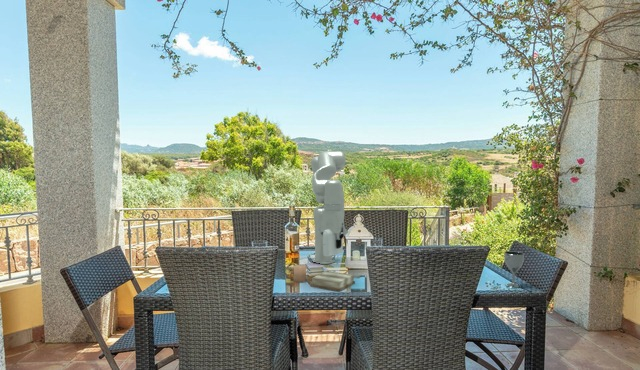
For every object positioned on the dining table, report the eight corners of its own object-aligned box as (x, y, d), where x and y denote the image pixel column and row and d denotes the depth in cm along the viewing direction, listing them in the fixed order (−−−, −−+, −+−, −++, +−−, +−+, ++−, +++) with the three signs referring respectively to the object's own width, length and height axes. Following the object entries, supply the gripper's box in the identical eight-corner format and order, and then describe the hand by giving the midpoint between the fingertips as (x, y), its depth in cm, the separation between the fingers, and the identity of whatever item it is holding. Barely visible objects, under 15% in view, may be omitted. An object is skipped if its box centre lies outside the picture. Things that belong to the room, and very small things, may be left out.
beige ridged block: (327, 278, 204) (327, 270, 204) (355, 283, 196) (355, 274, 196) (310, 286, 192) (310, 277, 191) (339, 291, 184) (339, 282, 184)
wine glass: (524, 284, 193) (525, 252, 192) (521, 289, 186) (522, 255, 185) (505, 282, 197) (506, 250, 196) (502, 286, 191) (502, 253, 190)
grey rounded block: (327, 256, 188) (327, 229, 188) (321, 255, 191) (321, 228, 191) (344, 253, 195) (344, 227, 194) (337, 252, 198) (337, 226, 198)
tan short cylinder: (298, 278, 205) (298, 264, 205) (308, 280, 202) (308, 265, 202) (291, 281, 200) (291, 266, 200) (301, 283, 197) (301, 268, 197)
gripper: (312, 207, 193) (312, 246, 194) (345, 209, 184) (345, 250, 185) (321, 206, 200) (321, 244, 201) (353, 208, 191) (353, 247, 192)
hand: (332, 246), depth 193 cm, fingers closed on grey rounded block, 5 cm apart
